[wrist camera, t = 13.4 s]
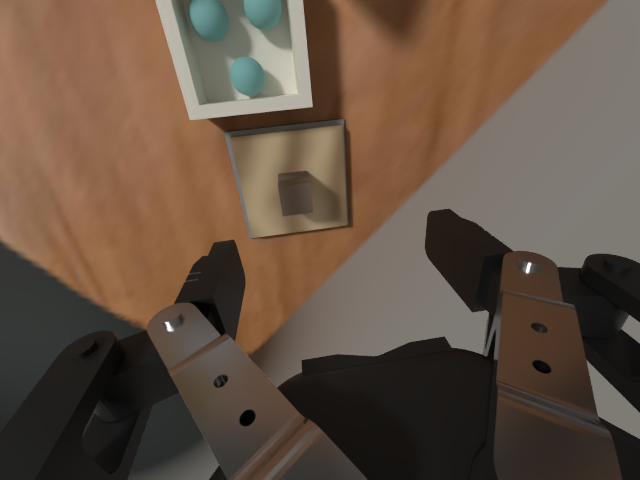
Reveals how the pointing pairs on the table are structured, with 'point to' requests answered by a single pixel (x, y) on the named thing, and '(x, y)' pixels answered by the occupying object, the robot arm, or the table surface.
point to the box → (240, 40)
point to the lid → (292, 179)
